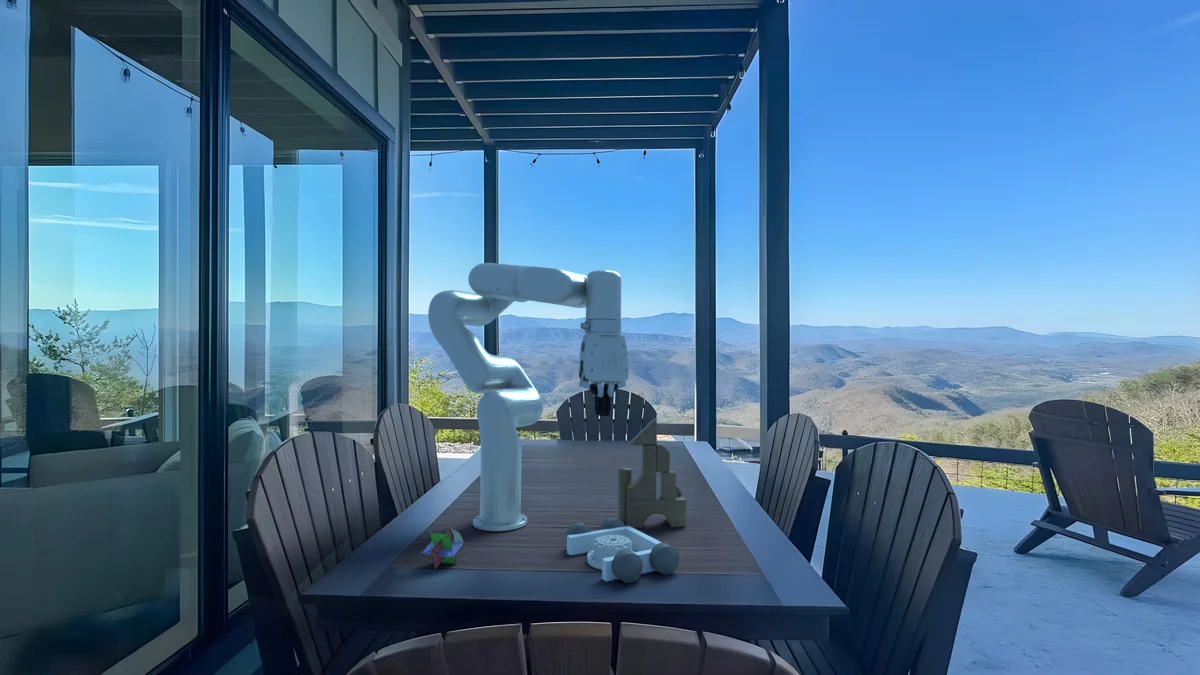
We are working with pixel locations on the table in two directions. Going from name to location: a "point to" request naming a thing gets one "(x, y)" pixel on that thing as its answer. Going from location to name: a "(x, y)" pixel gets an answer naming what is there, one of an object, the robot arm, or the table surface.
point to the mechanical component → (607, 548)
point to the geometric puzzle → (443, 547)
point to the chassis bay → (624, 551)
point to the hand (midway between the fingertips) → (602, 415)
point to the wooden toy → (650, 485)
